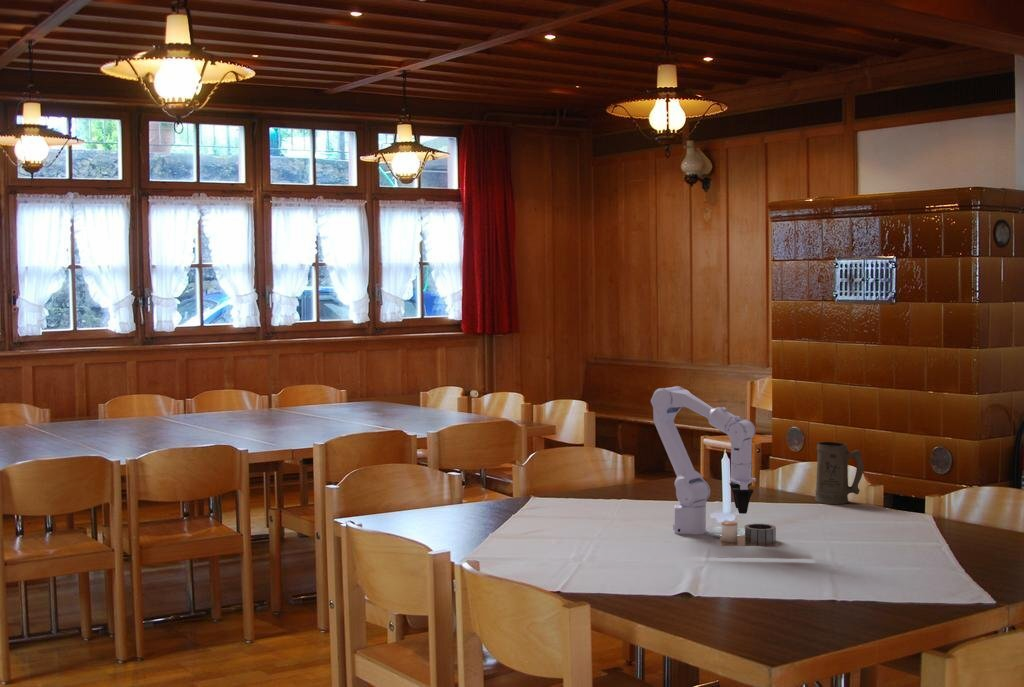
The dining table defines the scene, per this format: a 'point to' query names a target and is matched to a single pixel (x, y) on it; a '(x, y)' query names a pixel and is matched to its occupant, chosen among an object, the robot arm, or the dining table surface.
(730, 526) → the cylindrical peg
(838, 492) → the beer stein
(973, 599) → the dining table surface
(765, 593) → the dining table surface
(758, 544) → the peg hole base
